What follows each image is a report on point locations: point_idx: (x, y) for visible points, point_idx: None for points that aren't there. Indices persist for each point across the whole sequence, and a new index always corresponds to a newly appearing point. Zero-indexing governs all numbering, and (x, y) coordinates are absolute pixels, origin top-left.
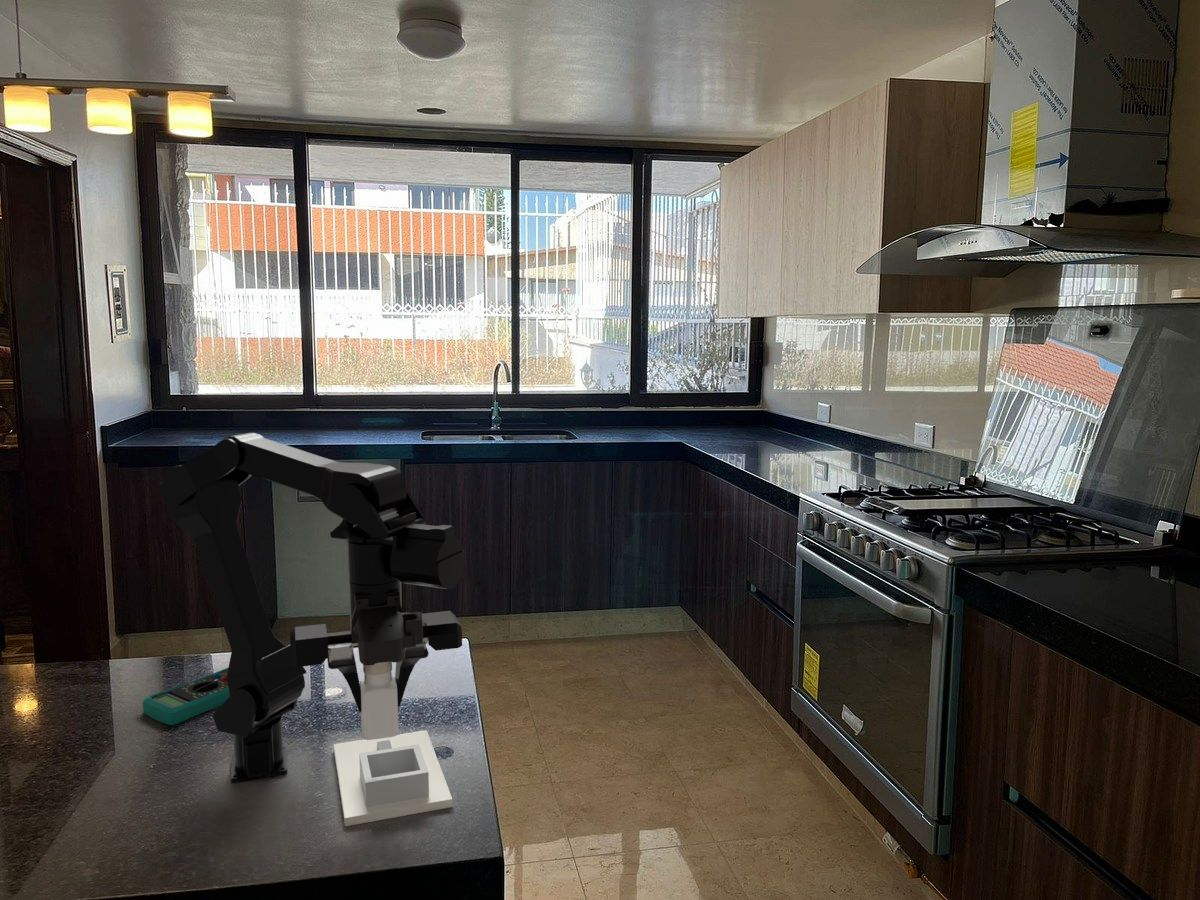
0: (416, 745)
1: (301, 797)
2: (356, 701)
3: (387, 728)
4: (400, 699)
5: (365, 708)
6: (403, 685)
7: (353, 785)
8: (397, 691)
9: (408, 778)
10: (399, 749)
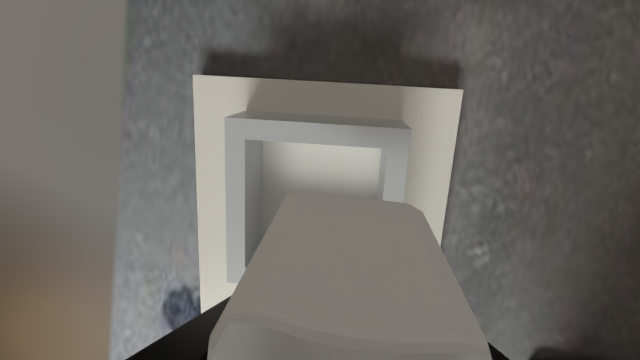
0: (234, 278)
1: (521, 254)
2: (492, 350)
3: (325, 201)
4: (222, 304)
5: (444, 272)
6: (159, 355)
7: None
8: None
9: (285, 120)
10: None
